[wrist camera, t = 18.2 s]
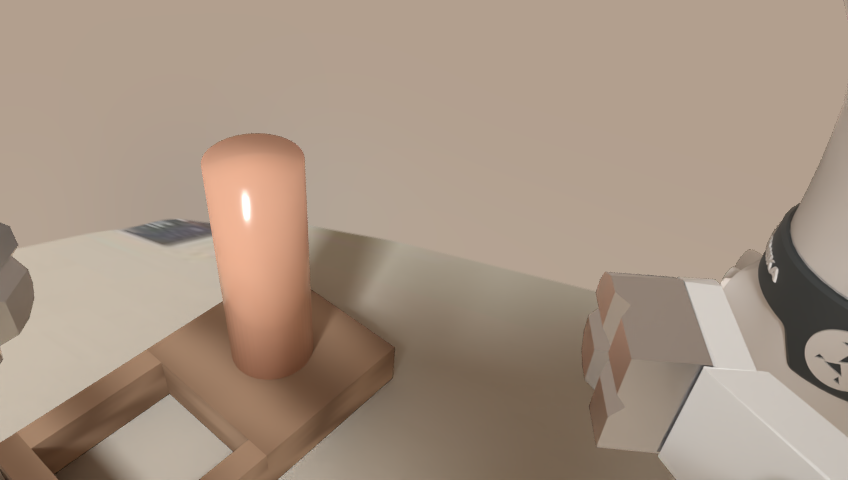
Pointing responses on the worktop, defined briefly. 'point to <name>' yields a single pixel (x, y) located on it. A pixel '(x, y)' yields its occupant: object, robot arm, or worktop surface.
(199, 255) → the worktop surface
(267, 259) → the peach cylinder
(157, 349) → the partly covered box
